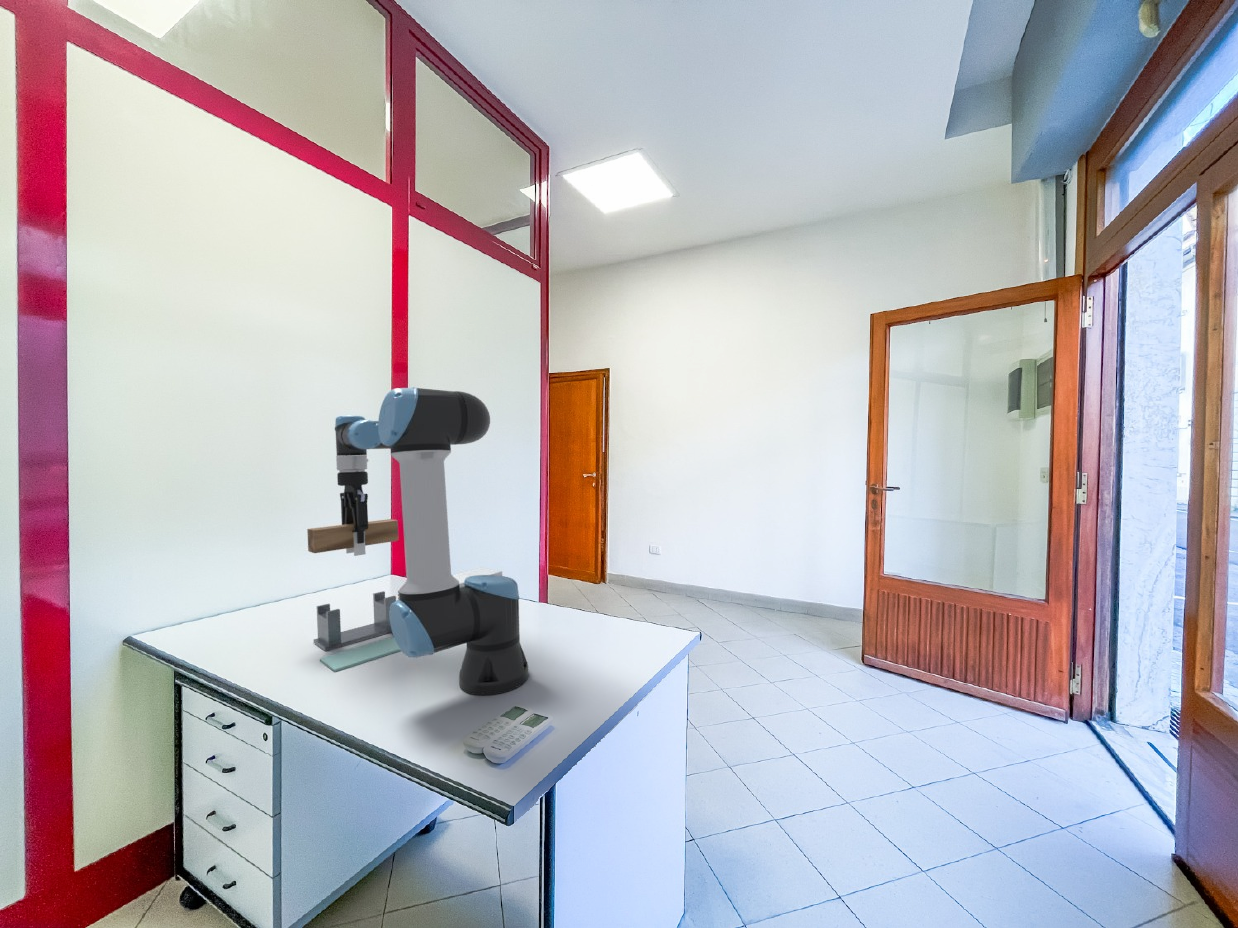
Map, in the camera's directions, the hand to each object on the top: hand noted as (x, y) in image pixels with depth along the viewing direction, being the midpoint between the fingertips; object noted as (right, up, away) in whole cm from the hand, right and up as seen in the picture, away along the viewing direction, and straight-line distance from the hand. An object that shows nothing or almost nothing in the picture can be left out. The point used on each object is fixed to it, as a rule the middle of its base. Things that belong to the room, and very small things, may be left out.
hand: (355, 553), depth 139 cm
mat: (+11, -24, -10) cm, 28 cm away
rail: (0, +2, 0) cm, 2 cm away
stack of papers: (+21, -23, +20) cm, 37 cm away
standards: (0, -24, +1) cm, 24 cm away
